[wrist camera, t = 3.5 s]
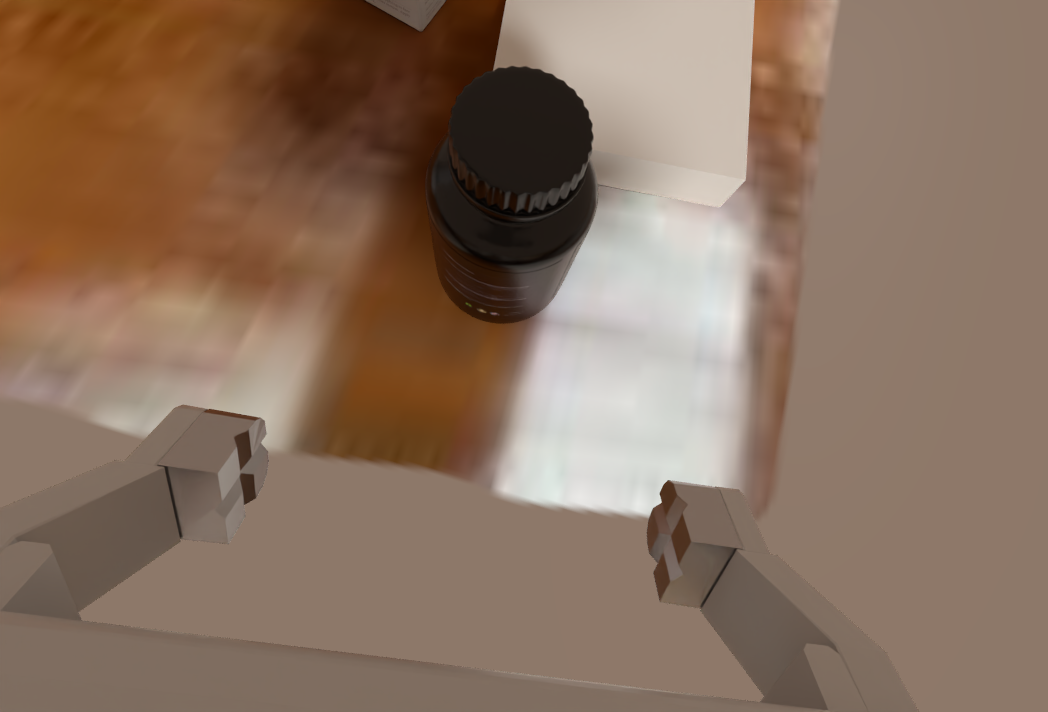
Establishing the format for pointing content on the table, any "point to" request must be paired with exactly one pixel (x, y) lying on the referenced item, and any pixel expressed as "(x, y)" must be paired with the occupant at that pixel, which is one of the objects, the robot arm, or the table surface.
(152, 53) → the table surface
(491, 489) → the table surface
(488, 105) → the supplement bottle
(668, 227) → the table surface
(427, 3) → the skincare box
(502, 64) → the stand
